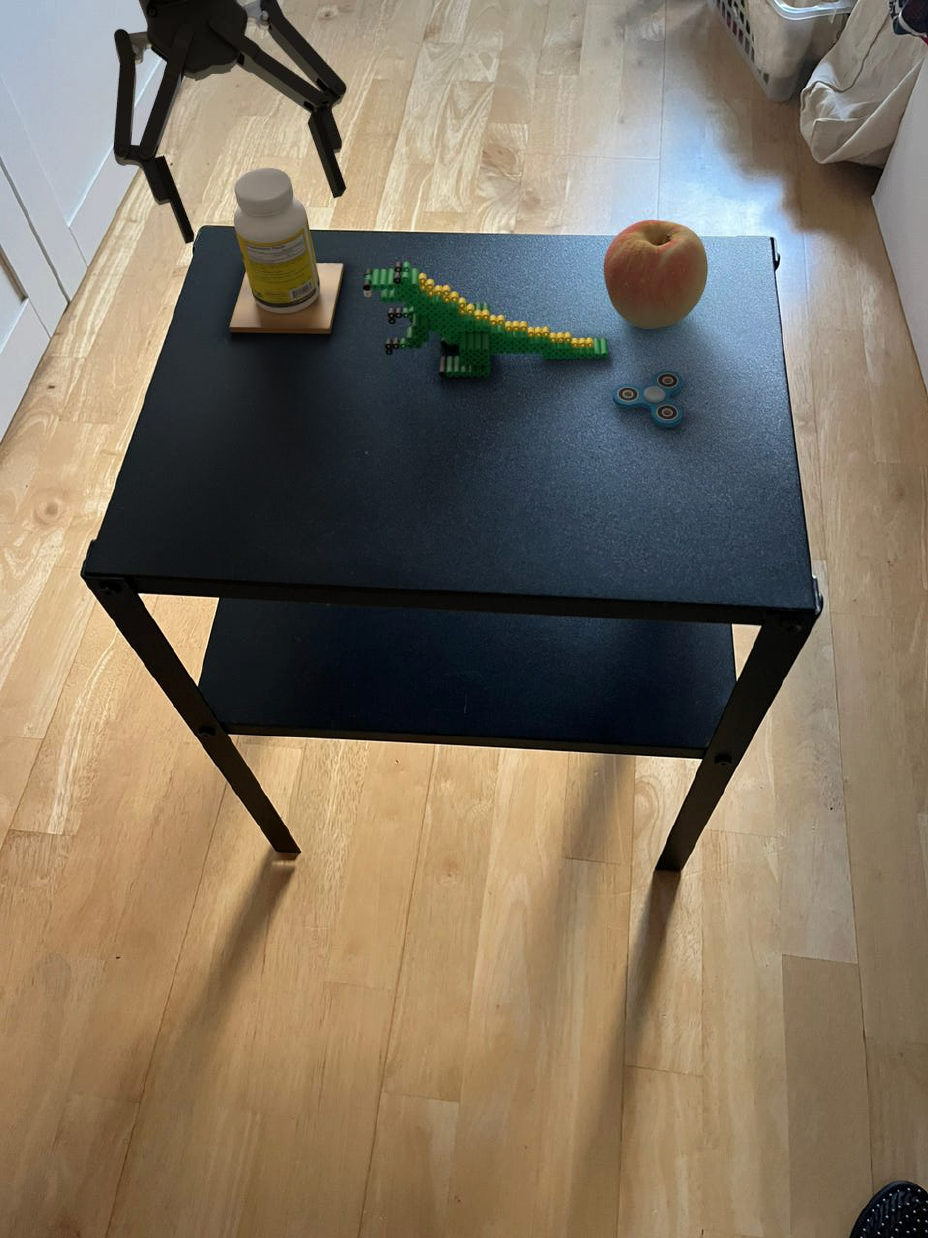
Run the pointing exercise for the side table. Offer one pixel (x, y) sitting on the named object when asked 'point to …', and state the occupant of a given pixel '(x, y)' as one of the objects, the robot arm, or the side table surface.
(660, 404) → the toy
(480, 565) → the side table surface
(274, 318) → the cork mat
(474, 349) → the green brick dinosaur
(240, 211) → the pill bottle
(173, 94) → the robot arm
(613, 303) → the apple
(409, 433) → the side table surface
